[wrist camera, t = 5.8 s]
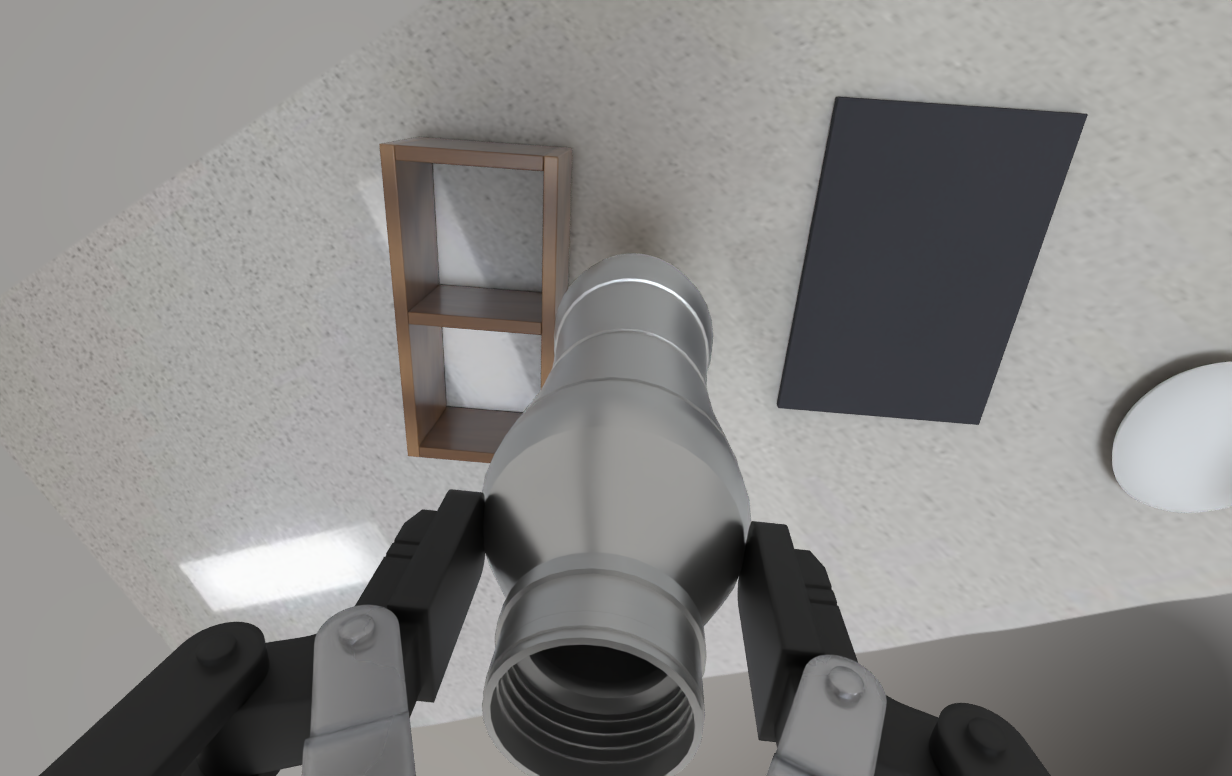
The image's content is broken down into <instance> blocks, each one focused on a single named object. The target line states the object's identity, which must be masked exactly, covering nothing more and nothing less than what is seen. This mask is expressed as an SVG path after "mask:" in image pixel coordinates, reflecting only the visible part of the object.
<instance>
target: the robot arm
mask: <svg viewBox="0 0 1232 776" xmlns="http://www.w3.org/2000/svg"><path fill="white" fill-rule="evenodd" d="M484 507H485V496H484V493H482V492H472V491H462V490H453V489H450V490H449V491H448V492H447V494H446V496H445V498H444V499H443V501H442V503H441V505H440V507H439V509H438V511H433V510H423V509H422V510H421V511H420V512H419V513H417V514H416V515H415V516H413V517H412V518H411V519H409V520H408V521H407V522H405V523H404V525H403V526H402V528H401V530H400V531H399V533H398V535H397V536H396V538H395V541H394V543H392V545H391V546H390V548H389V550H388V551H387V553H386V557H384V558H383V560H382V561H381V563H380V565H379V566H378V568H377V570H376V572H375V573H374V575H373V577H372V578H371V580H370V582H369V583H368V585H367V587H366V588H365V590H364V592H363V593H362V595H361V597H360V598H359V600H358V602H357V603H356V605H355V607H351V608H348V609H345V610H343V611H341V612H339V613H337V614H335V615H334V616H332V617H331V618H329V619H328V620H327V621H326V622H325V623H324V624H323V625H322V626H321V628H320V629H319V631H318V632H317V634H314V635H311V636H306V637H301V638H294V639H288V640H281V641H274V642H268V643H265V639H264V635H263V633H262V631H261V630H260V629H259V628H258V627H256V626H254V625H252V624H249V623H245V622H228V623H223V624H218V625H215V626H212V627H209V628H207V629H204V630H202V631H200V632H198V633H197V634H195V635H193V636H192V637H190V638H189V639H187V640H186V641H185V642H184V643H183V644H181V645H180V646H179V647H178V648H177V649H176V650H175V651H174V652H173V653H172V654H171V655H170V656H168V657H167V658H166V659H165V660H164V661H163V662H162V663H161V664H160V665H159V666H158V667H156V668H155V669H154V670H153V671H152V672H151V673H150V674H149V675H148V676H147V677H146V678H144V679H143V680H142V681H141V682H140V683H139V684H138V685H137V686H136V687H135V688H134V689H133V690H132V691H130V692H129V693H128V694H127V695H126V696H125V697H124V698H123V699H122V700H121V701H120V702H118V703H117V704H116V705H115V706H114V707H113V708H112V709H111V710H110V711H109V712H108V713H107V714H106V715H104V716H103V717H102V718H101V719H100V720H99V721H98V722H97V723H96V724H95V725H94V726H92V727H91V728H90V729H89V730H88V731H87V732H86V733H85V734H84V735H83V736H82V737H80V739H78V740H77V741H76V742H75V743H74V744H73V745H72V746H71V747H70V748H68V749H67V750H66V751H65V752H64V753H63V754H62V755H61V756H60V757H59V758H58V759H57V760H56V761H54V762H53V763H52V764H51V765H50V766H49V767H48V768H47V769H46V770H45V771H44V772H42V773H41V774H40V775H39V776H276V775H277V774H278V772H279V771H280V769H284V768H289V767H294V766H299V765H302V776H416V772H415V763H414V754H413V745H412V736H411V726H410V716H411V713H412V711H413V709H414V706H415V704H416V701H424V702H433V703H434V701H435V698H436V695H437V693H438V690H439V687H440V685H441V682H442V679H443V677H444V674H445V671H446V669H447V666H448V663H449V660H450V658H451V655H452V652H453V650H454V647H455V644H456V642H457V639H458V636H459V634H460V631H461V628H462V626H463V623H464V620H465V618H466V615H467V612H468V609H469V607H470V604H471V601H472V599H473V596H474V593H475V591H476V588H477V585H478V583H479V580H480V577H481V574H482V570H483V566H484V560H485V549H484V538H483V518H484ZM831 587H832V586H831V583H830V581H829V578H828V575H827V572H826V569H825V567H824V566H823V565H822V564H821V563H820V562H819V560H818V559H817V558H816V557H815V556H814V555H813V554H812V553H811V551H809V550H799V549H794V546H793V543H792V540H791V536H790V533H789V530H788V527H787V525H784V524H775V523H765V522H755V521H752V522H751V524H750V526H749V530H748V535H747V540H746V546H745V552H744V558H743V564H742V569H741V572H740V574H739V580H738V607H739V613H740V620H741V627H742V633H743V640H744V646H745V653H746V660H747V666H748V673H749V679H750V686H751V692H752V699H753V706H754V711H755V718H756V725H757V732H758V738H759V740H761V741H770V742H776V744H777V751H776V753H774V756H773V759H772V762H771V764H770V767H769V770H768V773H767V776H1051V775H1050V774H1049V773H1048V771H1047V770H1046V768H1045V767H1044V766H1043V764H1042V763H1041V762H1040V760H1039V759H1038V757H1037V756H1036V755H1035V753H1034V752H1033V750H1032V749H1031V748H1030V746H1029V745H1028V743H1027V742H1026V741H1025V739H1024V738H1023V737H1022V736H1021V734H1020V733H1019V732H1018V731H1017V730H1016V729H1015V728H1014V727H1013V726H1012V725H1011V724H1009V723H1008V722H1007V721H1006V720H1004V719H1003V718H1002V717H1000V716H999V715H997V714H995V713H993V712H992V711H990V710H987V709H985V708H983V707H980V706H977V705H973V704H968V703H955V704H951V705H948V706H947V707H945V708H944V709H943V710H942V712H941V713H940V716H939V718H938V717H935V716H933V715H930V714H928V713H925V712H922V711H920V710H917V709H914V708H912V707H909V706H907V705H904V704H902V703H900V702H897V701H895V700H894V699H892V698H890V697H888V696H886V694H885V692H884V689H883V687H882V685H881V684H880V682H879V681H878V679H877V678H876V677H875V676H874V675H873V674H872V673H871V672H870V671H869V670H868V669H866V668H865V667H864V666H862V665H861V664H859V663H858V661H857V658H856V655H855V652H854V649H853V647H852V644H851V641H850V638H849V635H848V632H847V629H846V626H845V624H844V621H843V618H842V615H841V612H840V609H839V606H837V601H836V598H835V595H834V592H833V590H831Z"/></svg>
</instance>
